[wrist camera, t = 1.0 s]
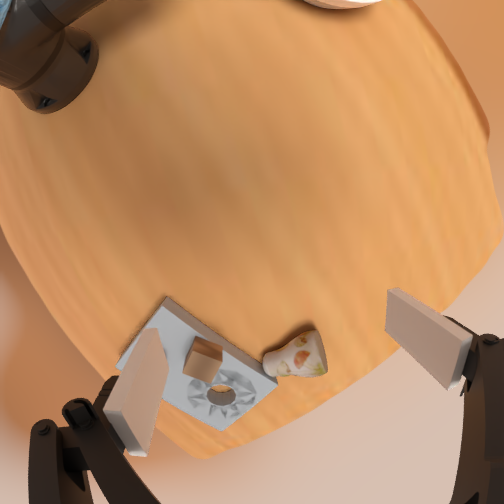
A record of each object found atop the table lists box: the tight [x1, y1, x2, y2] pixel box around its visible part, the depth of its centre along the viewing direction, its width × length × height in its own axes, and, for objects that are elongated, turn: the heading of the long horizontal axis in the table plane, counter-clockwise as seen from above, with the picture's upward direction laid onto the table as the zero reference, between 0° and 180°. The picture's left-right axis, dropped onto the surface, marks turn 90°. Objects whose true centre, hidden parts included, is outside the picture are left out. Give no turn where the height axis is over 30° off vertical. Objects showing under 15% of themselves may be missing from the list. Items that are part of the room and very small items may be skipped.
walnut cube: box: [182, 336, 223, 384], centre depth 35 cm, size 4×4×4 cm
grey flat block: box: [115, 297, 278, 431], centre depth 40 cm, size 21×14×4 cm, turn 49°
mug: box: [262, 330, 328, 377], centre depth 39 cm, size 8×10×10 cm
